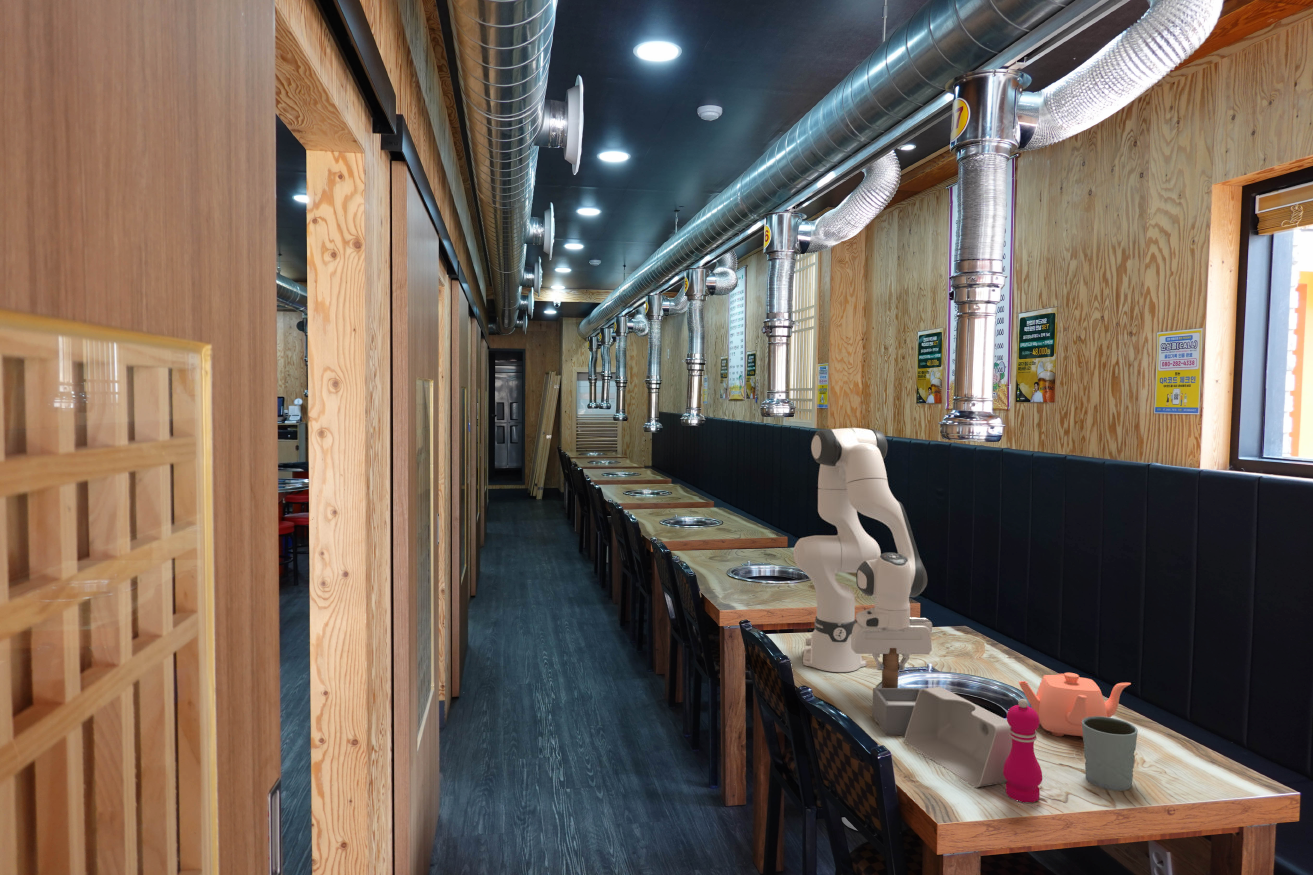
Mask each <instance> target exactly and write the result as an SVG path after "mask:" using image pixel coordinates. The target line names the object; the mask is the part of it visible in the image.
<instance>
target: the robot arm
mask: <svg viewBox="0 0 1313 875" xmlns="http://www.w3.org/2000/svg"><path fill="white" fill-rule="evenodd" d="M810 450H811V456H812V458H813V460H814V461H816V463H817V464H820V465H819V469H818V470H819V471H818V479H817V482H818V483H817V487H818V489H817V512H818V514H819V517H820V518H821V519H822V520H824V521H825V522H827V523H829V524H831V525H832V526H835V527H836V530H837V534H836V535H824V534H823V535H820V534H819V535H816V534H815V535H810V536H805V537H801V538H799V539H798V540H797V541H796V543H795V545H794V547H793V552H792V554H793V560H794V563H795V565H796V566H797V567H798V569H800V570H801V571H803V573H804V574H806V576H807V577H808V578H809V580H810V581H811V583H812V584H813V587H814V590H815V596H816V616H815V619H814V630H813V631H812V632H811V634H810V637H806V638H805V647H804V648H803V652H802V653H803V656H802V665H804V666H807V667H811V668H812V667H813V668H814V669H818V670H821V671H825V672H833V673H849V672H853V671H856V670H859V669H860V668H863V667H866V666H867V661H865V660H864V659H863V658H862V654H863V655H864V654H865V655H871V656H872V657H873V659H874V661H875V668H876V670H877V671H882V670H884V668H883V667H884V664H883V663H882V662H883V661H880V660H879V658H880V657H881V656H880V655H883V654H889V652H890V648H897V650H896V652H897V654H899V655H901V656H902V658H901V660H899V667H898V672H901V671H902V672H903V671H905V666H906V664H907V663H908V661H909V659H910V655H930V654H931V652H932V650H933V645H932V636H931V634H932V632H933V623H932V621H931V620H929V619H928V618H926V617H911V603H910V598H916V597H918V596H919V595H920V594H922V592H924V590H925V588H927V585H928V574H927V570H926V568H925V566H924V564H923V561H922V559H921V558H920V554H919V551H918V548H917V544H916V541H915V539H914V535H913V531H912V528H911V524H910V522H909V518H908V514H907V513H906V510H905V507H904V505H903V504H902V502H900V501H899V500H897V499H896V497H895V496H894V494H893V493H892V491H891V489H890V487H889V481H888V477H887V476H888V474H887V471H886V466H885V463H884V459H885V458H886V456H887V453H888V441H887V438H886V436H885V434H884V433H883V432H882V431H881V430H877V429H874V428H861V427H847V428H845V427H844V428H833V429H832V428H824V429H819V430H817V431H815V433H814V435H813V436H812V438H811V445H810ZM858 513H860V514H861V515H863V516H866V517H868V518H871V519H874V520H877V521H879V522H880V523H883V524H884V525H886V526H887V527H888V528H889V529H890V531H891V533H892V537H893V539H894V543H895V547H896V550H897V553H896V552H883V553H881V552H882V551H881V548H880V545H879V544H878V542H877V541H876V539H874V537H872V536H871V535H869V534H868V532H866V531H865V529H864V528H863V526H862V524H861V522H860V519H859V516H858ZM839 573H842V574H843V573H847V574H849V573H853V574H855V573H856V574H855V575H856V576H855V577H856V581H855V582H856V587H857V589H858V590H859V591H860V592H862V593H863V594H864V595H865V596H868V597H874V598H875V601H874V607H871V608H868V609H865V610H861V611H858V612H856V611H855V608H856V596H855V593H854V591H853V590H852V589H851V588H850V587H848V586H847V585H845V584H843V583H841V582H839V581H837V578H836V574H839ZM855 612H856V614H855Z"/></svg>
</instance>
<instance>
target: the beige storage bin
mask: <svg viewBox="0 0 1313 875" xmlns="http://www.w3.org/2000/svg"><path fill="white" fill-rule="evenodd" d="M1009 729H1010V725H1009V724H1008V722H1007V718H1006V719H1005V718H1004V717H1002V716H1000V715H998V714H996V713H993V712H991V711H990V710H987V709H985V708H984V707H982V706H980V705H978V704H975V703H973V702H972V701H970V700H968V699H966V698H964V697H961V696H960V695H958V694H956V693H954V692H951V691H950V690H948V689H945V688H944V687H942V686H935V687H928V688H921V690H920V691H919V693H918V696H917V699H916V703H915V706H914V709H913V712H912V715H911V718H910V721H909V724H908V728H907V731H906V734H905V735H904V743H905V744H906V745H908V746H910V747H911V748H912V749H914V750H916V751H917V752H919V753H920V754H921V755H923V756H925V757H926V758H928V759H930V760H931V761H933V762H934V763H936V764H937V765H939V766H941V767H942V768H944V769H946V770H947V771H949V772H950V773H951V774H953V775H955V776H956V777H958V778H960V780H961V779H962V781H965V782H966V783H967V782H968V785H970V784H971V785H970V786H972V787H973V788H975V787H976V788H982V787H987V786H993V785H997V784H1003V783H1006V782H1007V780H1006V779H1005V777H1004V775H1003V768H1004V764H1005V761H1006V759H1007V757H1008V756H1009V754H1010V752H1011V748H1012V738H1011V737H1010V735H1009V733H1010V731H1009Z"/></svg>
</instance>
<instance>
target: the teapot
mask: <svg viewBox="0 0 1313 875" xmlns="http://www.w3.org/2000/svg"><path fill="white" fill-rule="evenodd" d="M1039 683H1040V684H1039V686H1038V688H1037V692H1036V693H1035V691H1034V690H1033V689H1032V688H1031V686H1030V684H1028V682H1027V680H1020V681H1019V680H1018V684H1019V685H1018V686H1020V688H1021V690H1022V692H1023V694H1024V695H1025V698H1026V700H1027V702H1028V704H1029V705H1030V707H1031V708H1033V709H1034V710H1035V711H1036V712H1037V714H1038V716H1039V720H1040V723H1039V725H1041V727H1042V728H1043V729H1044V730H1045V731H1048V732H1051V735H1052V736H1055V737H1064V735H1067V736H1068V735H1069V736H1074V737H1075V736H1077V737H1081V738H1082V739H1083V730H1082V720H1083V719H1084V718H1087V717H1092V716H1103V717H1110V718H1112V716H1114V715H1115V714H1116V712H1117V710H1118V707H1119V702H1120V698H1121V697H1120V696H1121V694H1122V692H1123V690H1124V689H1125V688H1127V687H1128V686H1130V685H1131V684H1132V683H1131V682H1119V683H1116V684H1115V685H1114V686H1113V688H1112V690H1111V692H1110V696H1109V698H1108V699H1107V700H1106V701H1105V700H1104V695H1103V693H1102V691H1101V689H1100V687H1099V686H1098V684H1097V683H1096V682H1095V681H1094V680H1093V679H1091V678H1088V677H1087V678H1086V677H1080V675H1079V674H1077V673H1073V672H1064V673H1057V674H1044V675H1043V676H1042V679H1041V681H1040V682H1039Z"/></svg>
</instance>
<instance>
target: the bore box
mask: <svg viewBox="0 0 1313 875" xmlns="http://www.w3.org/2000/svg"><path fill="white" fill-rule="evenodd" d="M921 689H922V688H919V687H918V688H917V687H914V688H913V687H912V688H911V687H898V688H882V687H872V711H871V712H872V717H873V718H874V720H875V721H876V722H877V724H878V726H879V727H880V729H881V730H882V731H883V733H884V734H885V736H887V735H888V736H890V735H891V736H894V735H897V736H905V734H906V731H907V728H908V724H909V721H910V718H911V715H912V712H913V709H914V706H915V703H916V699H917V696H918V693H919V691H920V690H921Z"/></svg>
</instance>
